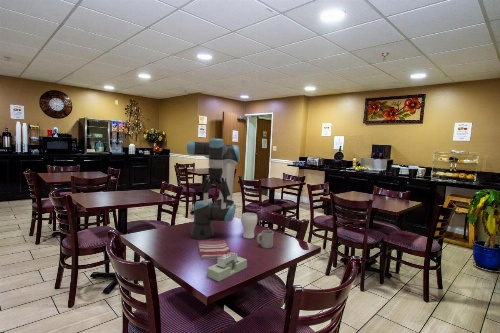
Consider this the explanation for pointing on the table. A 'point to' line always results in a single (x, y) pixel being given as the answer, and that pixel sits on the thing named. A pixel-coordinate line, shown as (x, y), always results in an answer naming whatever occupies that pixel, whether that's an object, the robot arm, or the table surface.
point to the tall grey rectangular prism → (227, 260)
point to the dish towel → (213, 249)
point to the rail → (226, 269)
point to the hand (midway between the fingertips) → (214, 206)
